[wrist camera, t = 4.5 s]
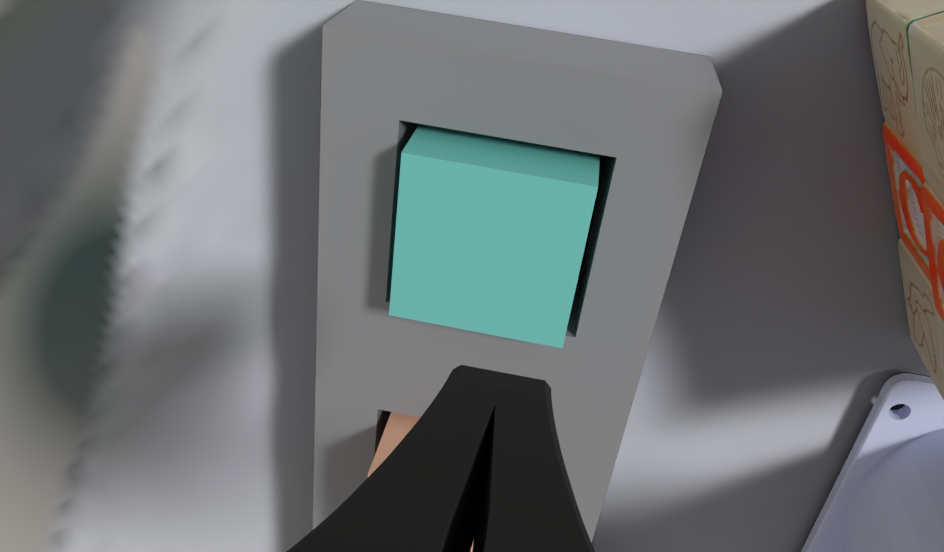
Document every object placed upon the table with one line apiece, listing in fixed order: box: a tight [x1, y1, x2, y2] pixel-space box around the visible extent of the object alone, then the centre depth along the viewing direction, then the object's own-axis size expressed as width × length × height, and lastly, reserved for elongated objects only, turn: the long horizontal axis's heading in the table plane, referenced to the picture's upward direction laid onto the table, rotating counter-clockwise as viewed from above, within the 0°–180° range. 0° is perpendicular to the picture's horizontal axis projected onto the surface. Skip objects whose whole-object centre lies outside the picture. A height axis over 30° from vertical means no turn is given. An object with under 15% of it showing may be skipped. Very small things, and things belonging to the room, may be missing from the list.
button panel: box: [312, 0, 723, 543], centre depth 23 cm, size 24×8×2 cm, turn 173°
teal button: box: [389, 124, 600, 348], centre depth 19 cm, size 4×4×4 cm
